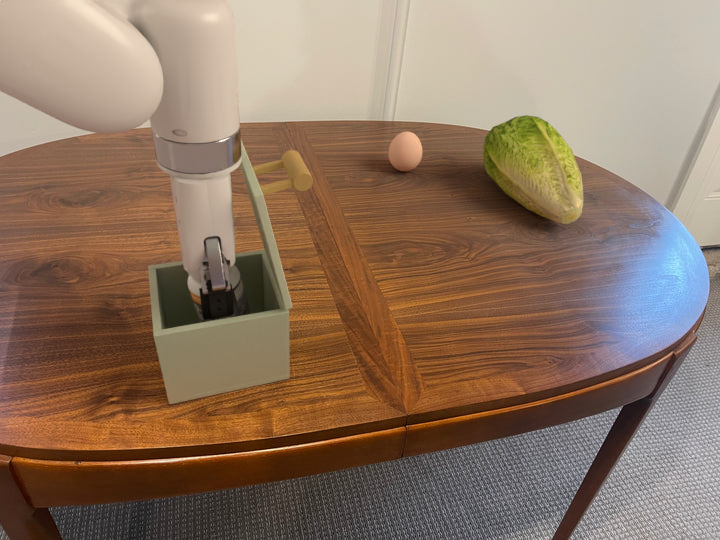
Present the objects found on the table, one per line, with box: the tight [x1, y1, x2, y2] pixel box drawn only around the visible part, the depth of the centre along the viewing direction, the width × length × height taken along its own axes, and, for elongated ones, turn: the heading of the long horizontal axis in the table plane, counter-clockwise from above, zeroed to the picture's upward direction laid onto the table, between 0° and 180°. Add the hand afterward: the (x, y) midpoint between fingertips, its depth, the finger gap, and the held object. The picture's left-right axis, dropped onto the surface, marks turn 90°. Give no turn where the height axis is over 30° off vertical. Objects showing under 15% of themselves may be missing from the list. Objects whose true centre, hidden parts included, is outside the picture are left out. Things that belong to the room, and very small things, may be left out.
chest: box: [147, 249, 291, 405], centre depth 62 cm, size 14×12×11 cm
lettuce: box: [482, 114, 585, 225], centre depth 98 cm, size 14×24×15 cm
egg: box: [387, 131, 424, 172], centre depth 104 cm, size 7×7×8 cm
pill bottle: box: [187, 255, 251, 323], centre depth 59 cm, size 6×6×10 cm
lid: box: [239, 139, 314, 310], centre depth 56 cm, size 14×12×6 cm
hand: (214, 295), depth 59 cm, fingers closed on pill bottle, 5 cm apart
